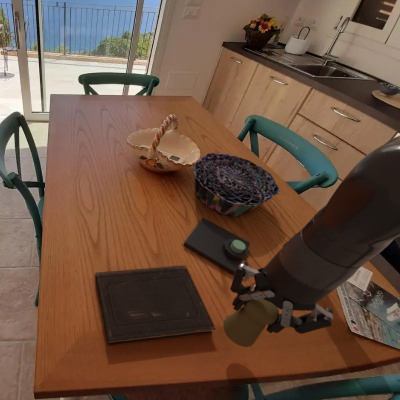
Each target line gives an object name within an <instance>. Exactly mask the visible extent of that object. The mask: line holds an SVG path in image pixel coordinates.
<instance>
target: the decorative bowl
mask: <svg viewBox="0 0 400 400" xmlns="http://www.w3.org/2000/svg"><path fill="white" fill-rule="evenodd" d="M193 173H194V191H195V195H196V196H197V197H198V199H199V201H200V202H201V203H202V204H205V205H206V207H207V208H208V209H210V210H214V211H216V212H217V213H218V214H219V215H223V216H227V215H229V216H231V217H238V216H241V215H244V214H246V213H249V212H250V211H252V210H253V209H256V207H258V206H260V205H262V204H264V203H265V202H268V201H269V200H271V199H272V198H273V196H276V195H279V194H280V191H281V188H280V187H279V185H278V184H277V183H276V180H275V178H274V177H273V175H272V173H270V172H269V171H267V170H266V169H265V168H263V167H262V166H259V165H258V164H256V163H254V162H252V161H251V160H249V159H246V158H243V157H239V156H236V155H233V154H229V153H224V152H223V153H222V152H209V153H206V154H205V155H202V157H200V158H199V159H198V160H196V161H195V162H194V163H193Z"/></svg>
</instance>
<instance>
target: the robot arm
mask: <svg viewBox="0 0 400 400" xmlns="http://www.w3.org/2000/svg"><path fill="white" fill-rule="evenodd" d="M399 237H400V135H398V136H395V137H393V138H392V139H390V140H388V141H387V142H385V143H383V144H382V145H380V146H379V147H377V148H375V149H374V150H372V151H370V152H369V153H367V154H366V155H365V156H364V157H363V158H362V159H360V160H359V162H357V163H356V165H354V167H353V168H352V169H351V170H350V171H349V172H348V173H347V175H346V176H345V177H344V178H343V180H342V181H341V182H340V184H339V185H338V187H337V188H336V189H335V191H334V192H333V194H332V195H331V197H330V198H329V200H328V202H326V204H325V205H324V206H323V207H321V208H320V209H319V210H318V211H317V212H316V213H315V214H314V215H313V217H312V218H311V219H310V220H309V221H308V222H307V223H306V225H304V226H303V227H302V229H300V230H299V231H298V232H296V233H295V234H294V235H293V236H291V238H289V240H288V241H285V242H284V244H283V245H282V247H281V249H280V250H279V251H278V252H277V253H276V254H275V255H274V256H273V257H272V258H271V260H269V262H268V263H267V264H266V265H265V266H264V267H261V268H258V269H256V268H253V267H251V266H249V263H248V261H246V260H242V261H241V262H240V264H239V266H238V268H237V270H236V272H235V274H234V275H233V279H232V282H231V285H230V288H229V290H230V291H231V292H232V293H234V294H236V296H235V297H234V298H233V301H232V302H231V306H232V307H233V310H235V312H236V311H238V310H239V309H240V308H241V307H243V306H244V304H245V303H246V301H247V300H251V299H253V300H259V299H264V300H266V301H268V302H271V303H272V304H274V305H275V306H276V307H278V310H279V309H280V310H281V313H280V312H279V316H278V318H277V320H276V321H275V322H274V323H272V324H269V325H267V327H266V331H267V332H268V333H269V334H272V333H274V334H278V333H279V334H280V332H281V331H283V330H285V329H286V328H287V329H289V328H292V329H294V331H295V333H298V334H301V335H303V334H307V333H310V332H315V331H317V330H321V329H324V328H328V327H331V326H332V324H333V319H334V313H335V312H334V310H333V309H332V308H329V307H322V306H321V305H319V304H318V303H319V302H320V301H321V300H323V299H324V298H326V297H327V296H328V295H329V294H331V293H332V292H334V291H335V290H336V289H338V288H339V287H340V286H342V285H343V284H344V283H346V282H347V281H348V280H349V279H351V278H352V277H353V276H354V275H355V274H356V273H357V271H358V270H359V269H360V268H361V267H363V266H364V265H365V264H366V263H368V262H369V261H370V260H372V259H373V258H375V257H376V256H377V255H378V254H380V253H381V252H383V251H384V250H385V249H386V248H387V247H388V246H389V245H390V244H391V243H392V242H393V241H394V240H395V239H397V238H399ZM250 277H253V279H254V282H252V283H251V284H248V285H244V284H243V280H246V279H249V278H250ZM294 311H299V312H300V311H304V312H305V311H307V313H306V314H303V315H300V316H294V315H293V314H294ZM308 312H309V313H308Z"/></svg>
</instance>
